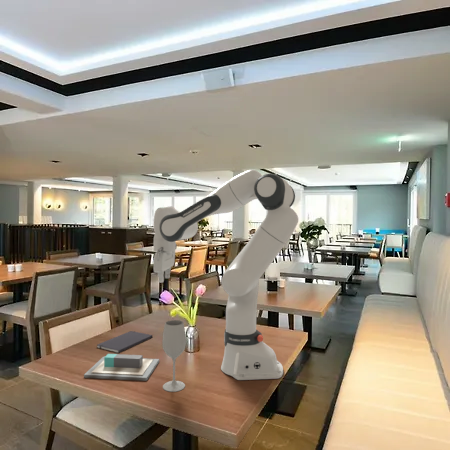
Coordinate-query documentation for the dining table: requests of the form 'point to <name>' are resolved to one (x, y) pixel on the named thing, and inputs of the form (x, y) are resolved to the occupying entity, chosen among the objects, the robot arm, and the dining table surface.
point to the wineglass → (174, 349)
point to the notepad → (122, 371)
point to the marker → (123, 361)
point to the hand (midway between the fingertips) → (164, 280)
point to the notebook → (124, 341)
